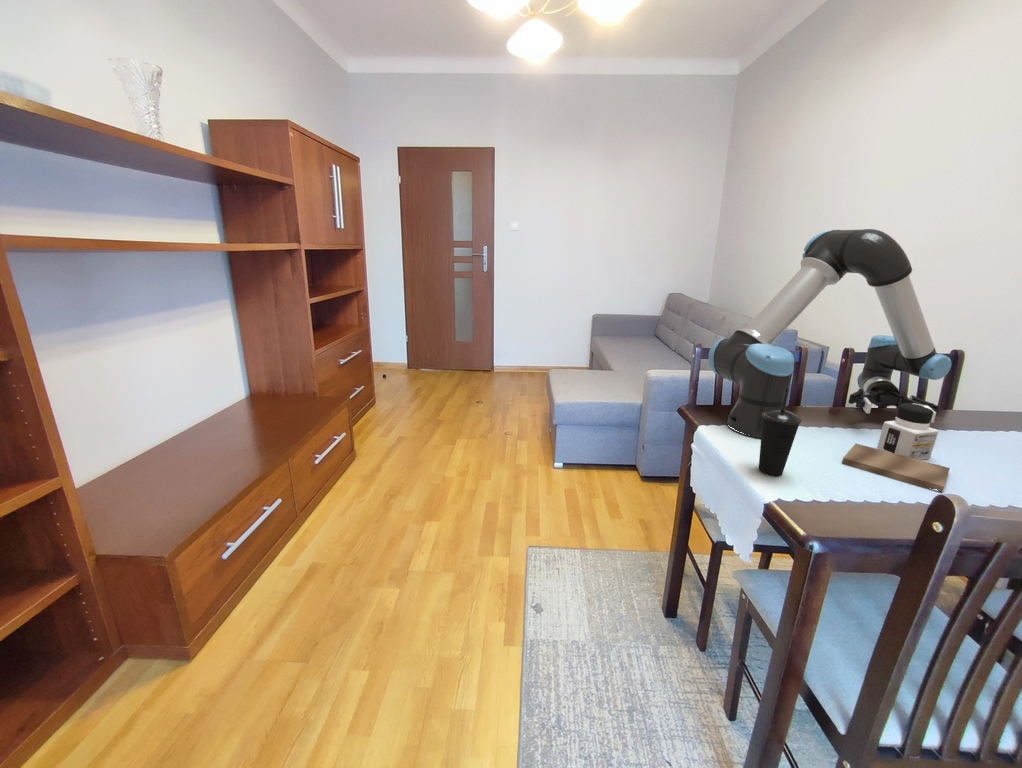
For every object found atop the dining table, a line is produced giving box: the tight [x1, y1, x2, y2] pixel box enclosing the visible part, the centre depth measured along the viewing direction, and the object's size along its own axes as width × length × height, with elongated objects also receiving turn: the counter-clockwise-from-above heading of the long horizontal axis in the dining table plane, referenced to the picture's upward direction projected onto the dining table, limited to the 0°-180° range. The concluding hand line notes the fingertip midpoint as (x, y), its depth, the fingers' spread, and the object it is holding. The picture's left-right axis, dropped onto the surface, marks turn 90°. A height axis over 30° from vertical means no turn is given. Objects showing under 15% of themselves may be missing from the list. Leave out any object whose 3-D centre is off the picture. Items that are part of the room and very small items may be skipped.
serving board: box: [841, 443, 951, 494], centre depth 108 cm, size 18×13×2 cm
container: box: [876, 403, 939, 461], centre depth 114 cm, size 8×8×13 cm
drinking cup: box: [758, 387, 803, 478], centre depth 102 cm, size 8×8×20 cm
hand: (900, 413), depth 122 cm, fingers open, 13 cm apart
